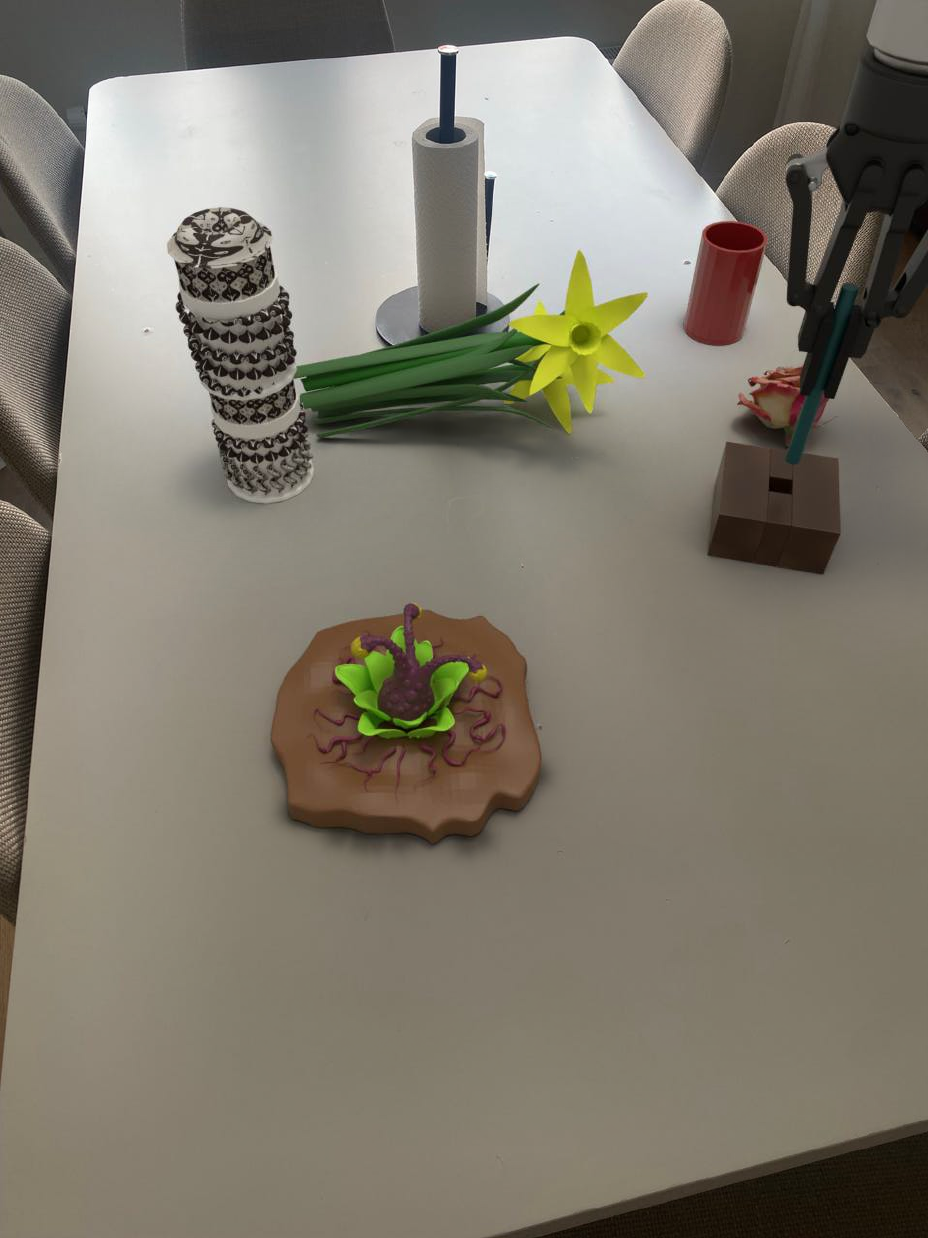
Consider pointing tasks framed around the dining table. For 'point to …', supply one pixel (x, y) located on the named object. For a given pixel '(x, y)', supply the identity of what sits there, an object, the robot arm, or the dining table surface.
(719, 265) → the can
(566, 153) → the dining table surface
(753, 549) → the holder
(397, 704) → the plant
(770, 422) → the flower
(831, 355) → the straw
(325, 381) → the daffodil flowers
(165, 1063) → the dining table surface
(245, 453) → the decorative candle
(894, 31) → the robot arm
